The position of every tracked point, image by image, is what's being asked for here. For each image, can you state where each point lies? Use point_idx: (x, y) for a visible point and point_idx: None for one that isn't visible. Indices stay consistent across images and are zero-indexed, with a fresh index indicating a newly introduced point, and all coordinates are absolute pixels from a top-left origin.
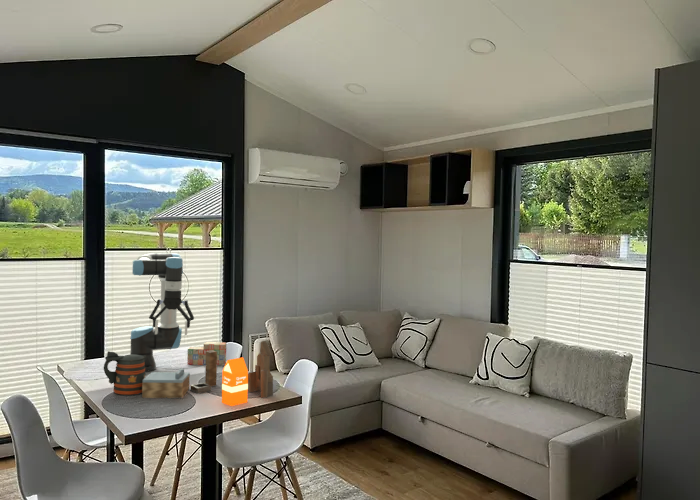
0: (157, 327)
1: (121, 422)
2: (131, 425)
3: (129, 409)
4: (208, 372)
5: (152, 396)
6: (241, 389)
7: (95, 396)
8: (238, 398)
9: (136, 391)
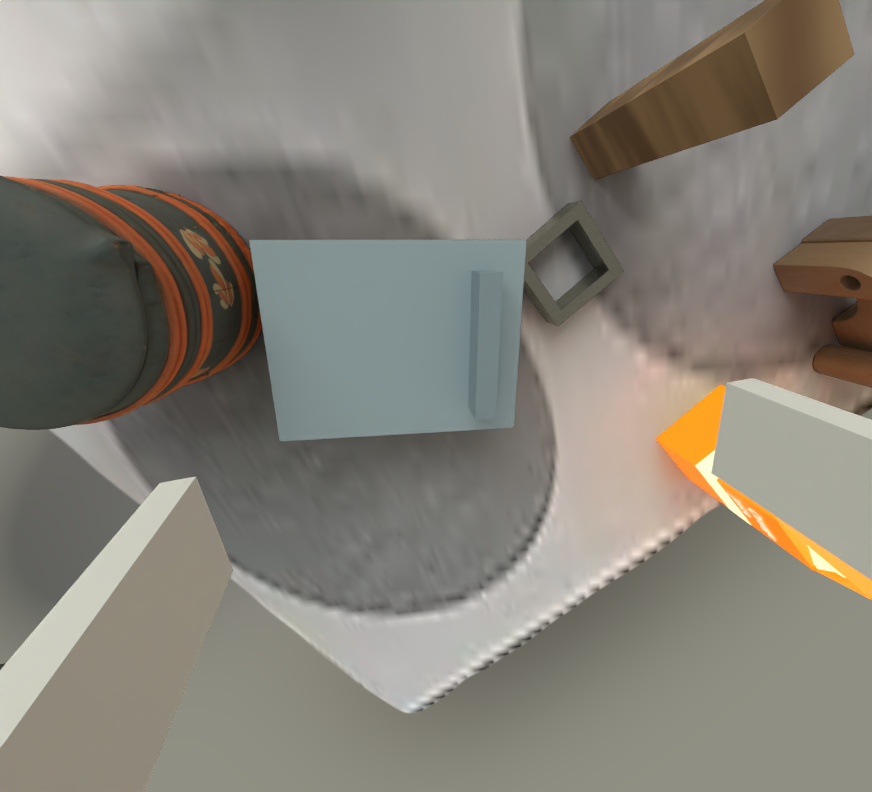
0: (142, 621)
1: (350, 650)
2: (393, 665)
3: (317, 545)
4: (637, 152)
5: None
6: None
7: None
8: None
9: (238, 358)
